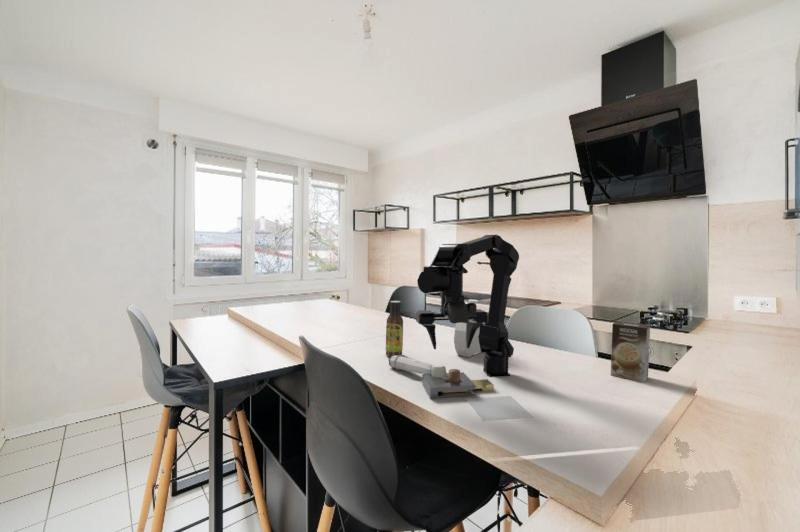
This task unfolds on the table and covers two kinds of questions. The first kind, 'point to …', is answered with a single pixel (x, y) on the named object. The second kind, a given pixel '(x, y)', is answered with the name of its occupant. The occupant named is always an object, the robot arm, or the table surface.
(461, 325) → the soap bottle
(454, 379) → the walnut peg
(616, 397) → the table surface
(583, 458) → the table surface
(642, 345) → the coffee box
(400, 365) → the white long cylinder
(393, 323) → the sauce bottle
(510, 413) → the grey mat
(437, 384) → the grey block with slider
